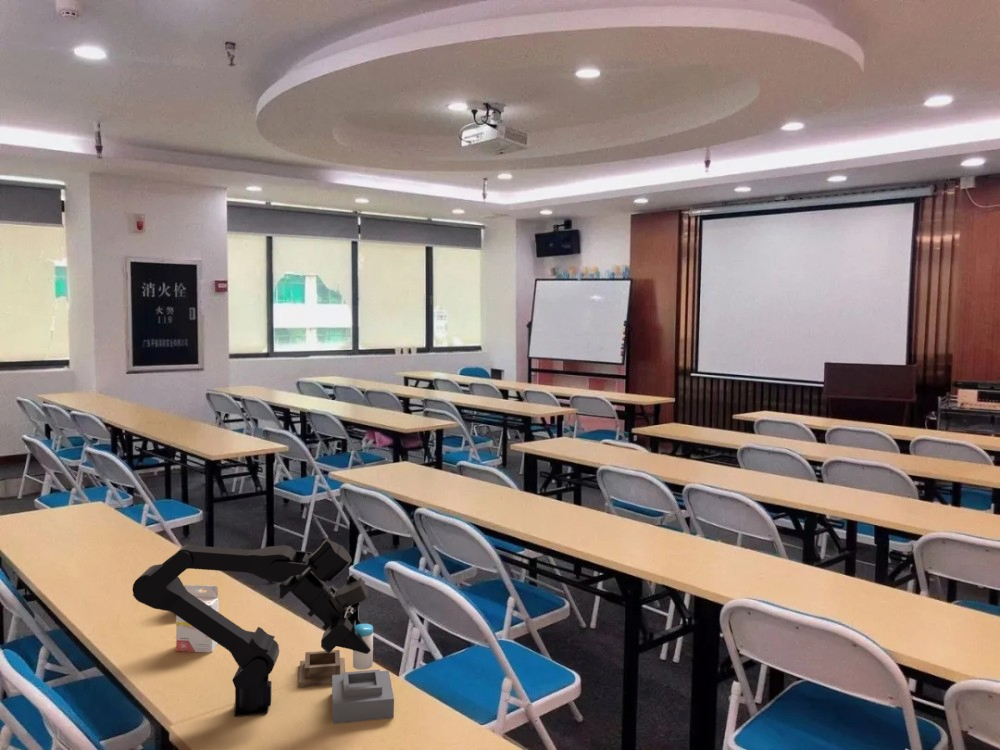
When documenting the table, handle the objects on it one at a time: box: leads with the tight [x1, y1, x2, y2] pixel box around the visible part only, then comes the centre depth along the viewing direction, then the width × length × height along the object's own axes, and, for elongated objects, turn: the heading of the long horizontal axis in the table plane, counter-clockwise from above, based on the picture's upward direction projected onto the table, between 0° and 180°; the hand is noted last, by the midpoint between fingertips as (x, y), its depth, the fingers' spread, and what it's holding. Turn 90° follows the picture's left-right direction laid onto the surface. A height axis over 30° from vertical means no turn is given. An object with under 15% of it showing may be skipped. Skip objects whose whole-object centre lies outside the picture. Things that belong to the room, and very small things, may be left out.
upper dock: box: [331, 669, 395, 725], centre depth 154 cm, size 12×12×6 cm
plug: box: [352, 623, 374, 671], centre depth 153 cm, size 4×4×8 cm
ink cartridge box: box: [175, 584, 220, 653], centre depth 177 cm, size 9×5×15 cm, turn 92°
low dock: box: [298, 649, 346, 687], centre depth 167 cm, size 10×10×4 cm
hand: (369, 647), depth 153 cm, fingers closed on plug, 4 cm apart
